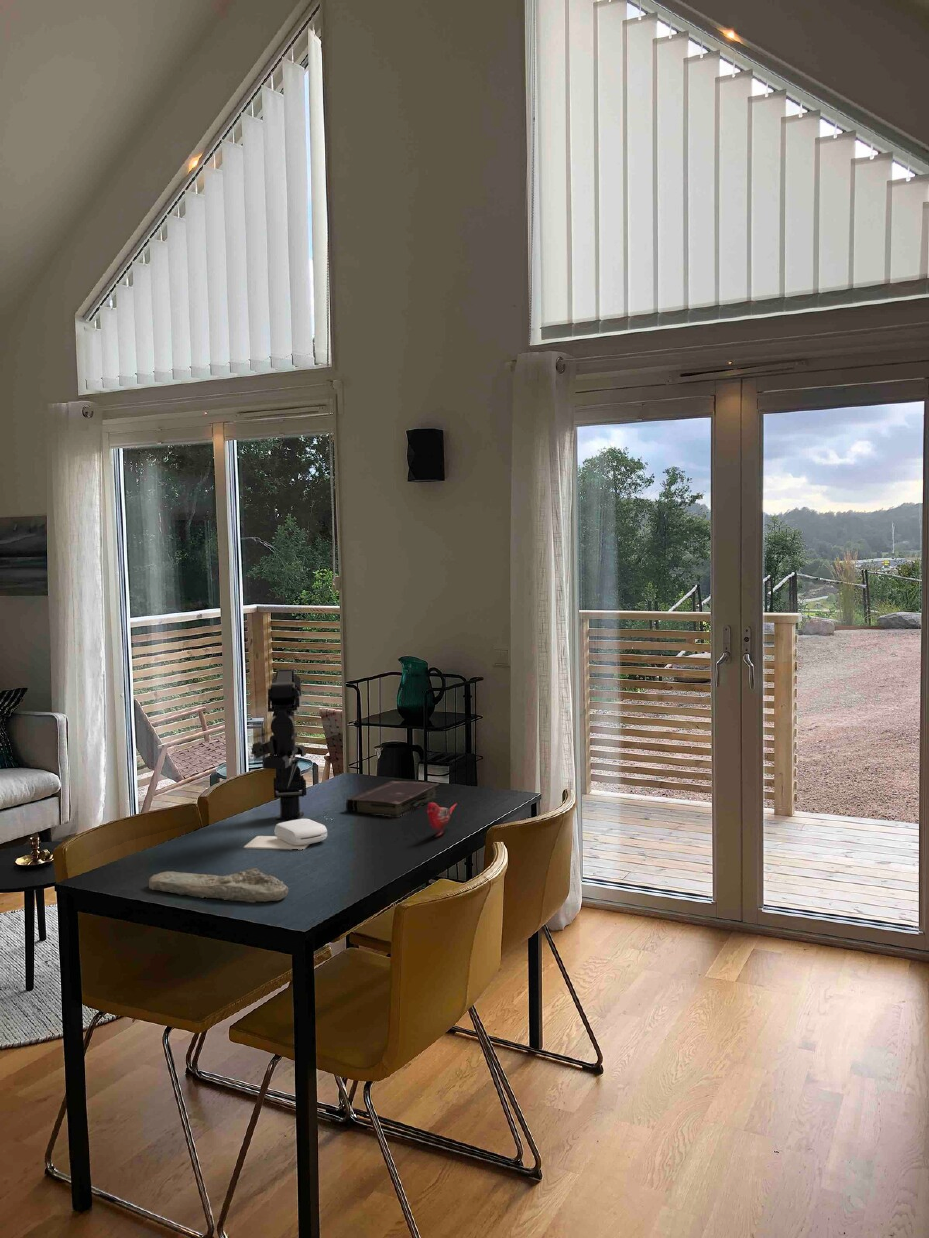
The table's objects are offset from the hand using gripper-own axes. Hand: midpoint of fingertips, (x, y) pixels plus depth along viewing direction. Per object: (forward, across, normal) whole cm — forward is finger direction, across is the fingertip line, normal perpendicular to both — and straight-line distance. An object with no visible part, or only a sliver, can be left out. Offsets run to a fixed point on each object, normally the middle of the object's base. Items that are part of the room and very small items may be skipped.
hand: (285, 788), depth 269 cm
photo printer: (+10, +1, +1) cm, 10 cm away
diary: (+14, -35, +22) cm, 43 cm away
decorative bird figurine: (+13, -5, +42) cm, 44 cm away
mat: (+13, +7, 0) cm, 15 cm away
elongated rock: (+13, +45, -1) cm, 47 cm away
